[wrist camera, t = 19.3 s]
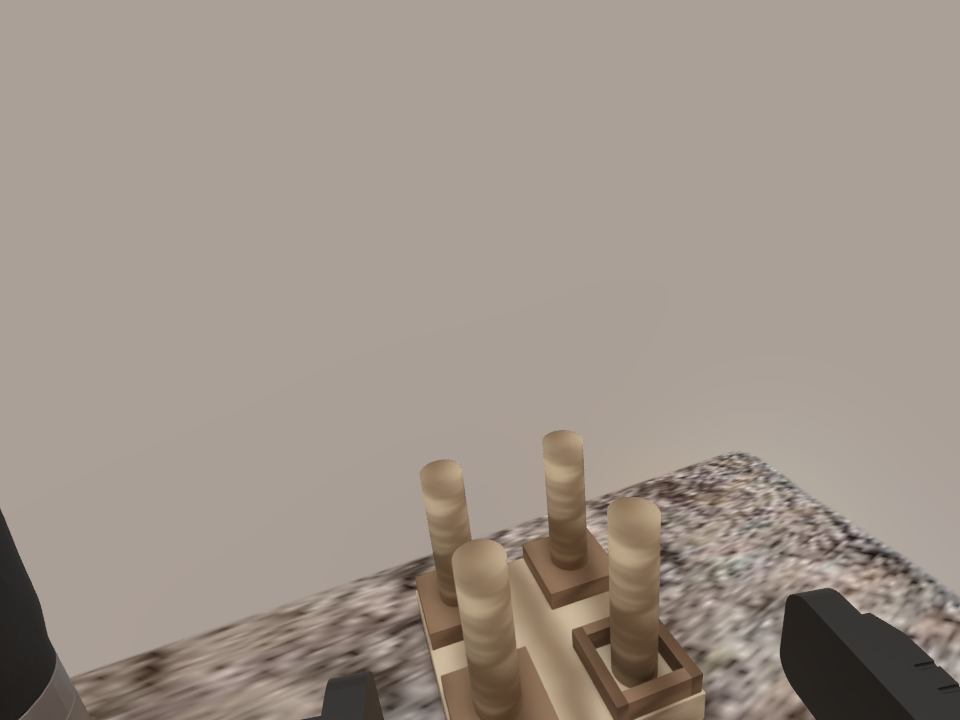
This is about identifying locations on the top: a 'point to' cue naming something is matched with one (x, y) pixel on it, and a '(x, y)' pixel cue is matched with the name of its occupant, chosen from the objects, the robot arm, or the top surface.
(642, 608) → the stool leg
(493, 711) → the stool seat
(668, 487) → the top surface
